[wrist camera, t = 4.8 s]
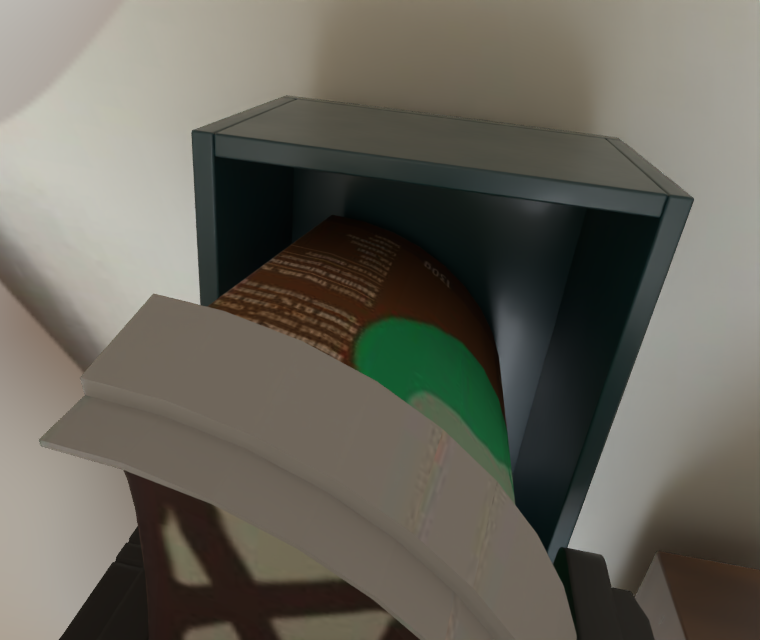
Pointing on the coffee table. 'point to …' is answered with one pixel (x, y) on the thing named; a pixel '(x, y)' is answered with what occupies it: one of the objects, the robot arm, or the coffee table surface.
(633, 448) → the coffee table surface
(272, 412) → the food container
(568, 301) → the teal open box
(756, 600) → the pillar
